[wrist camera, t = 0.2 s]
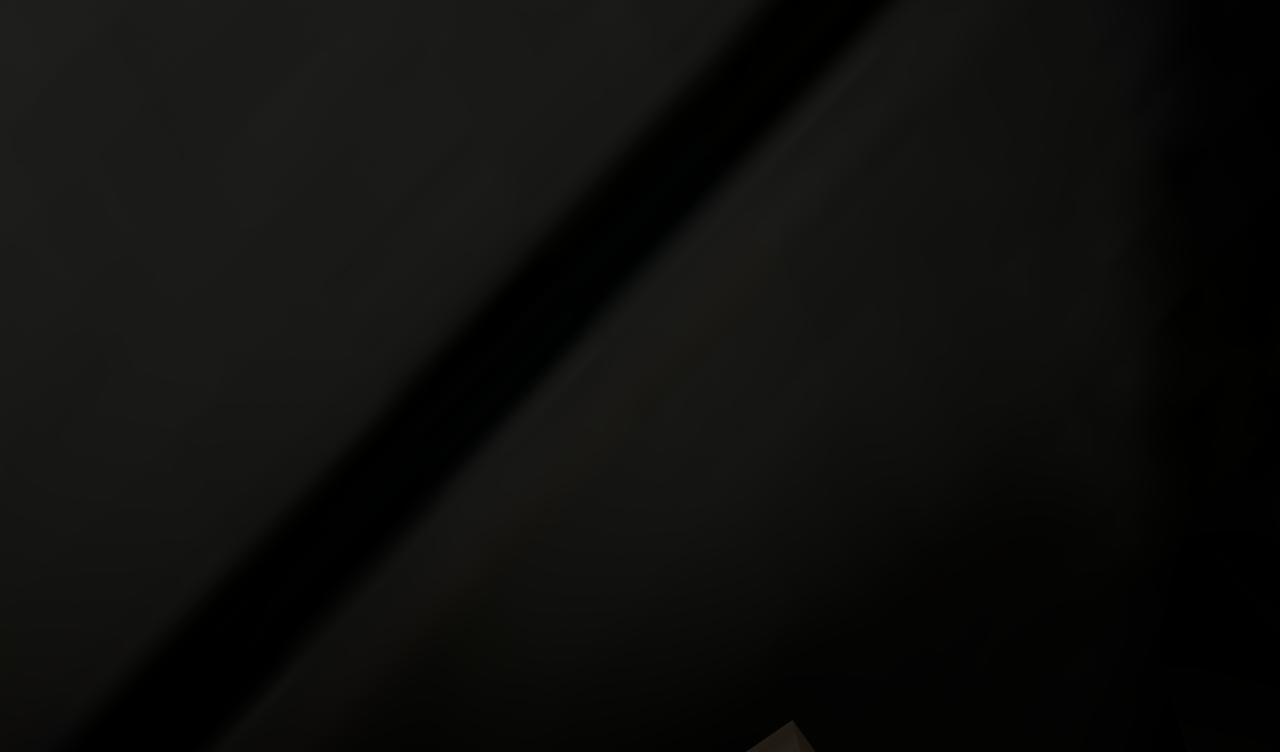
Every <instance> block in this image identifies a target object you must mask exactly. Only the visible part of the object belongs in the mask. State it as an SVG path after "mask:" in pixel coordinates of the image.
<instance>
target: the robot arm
mask: <svg viewBox="0 0 1280 752" xmlns="http://www.w3.org/2000/svg"><path fill="white" fill-rule="evenodd" d="M1159 654H1160V660H1161V665H1162V669H1163V673H1164V676H1165V679H1166V683H1167V686H1168V689H1169V692H1170V696H1171V699H1172V702H1173V705H1174V709H1175V712H1176V715H1177V718H1178V721H1179V725H1180V728H1181V731H1182V734H1183V738H1184V741H1185V744H1186V747H1187V750H1188V752H1280V545H1279V544H1277V543H1275V542H1274V541H1272V540H1271V539H1269V538H1267V537H1265V536H1264V535H1262V534H1260V533H1257V532H1254V531H1245V530H1242V531H1226V532H1209V533H1196V534H1192V535H1190V536H1188V537H1186V538H1185V539H1184V540H1183V541H1182V542H1181V544H1180V545H1179V547H1178V550H1177V553H1176V556H1175V560H1174V565H1173V569H1172V574H1171V579H1170V583H1169V588H1168V592H1167V597H1166V601H1165V606H1164V611H1163V615H1162V620H1161V624H1160V630H1159Z"/></svg>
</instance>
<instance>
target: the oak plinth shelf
mask: <svg viewBox="0 0 1280 752" xmlns="http://www.w3.org/2000/svg"><path fill="white" fill-rule="evenodd" d="M747 752H815V751H814V749H813V748H812V746H811V745H810V744H809V742H808V741H807V739H806V738H805V737H804V735H803V734H802V732H801V731H800V730H799V728H798V727H797V726H796V724H795V723H794V721H793V720H792V721H790V722H789V723H787V724H786V725H784V726H783V727H782V728H780V729H779V730H777V731H776V732H774V733H773V734H771V735H770V736H768V737H767V738H766V739H764V740H763V741H761V742H760V743H758V744H757V745H755V746H754V747H752V748H751V749H750V750H748V751H747Z"/></svg>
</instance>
